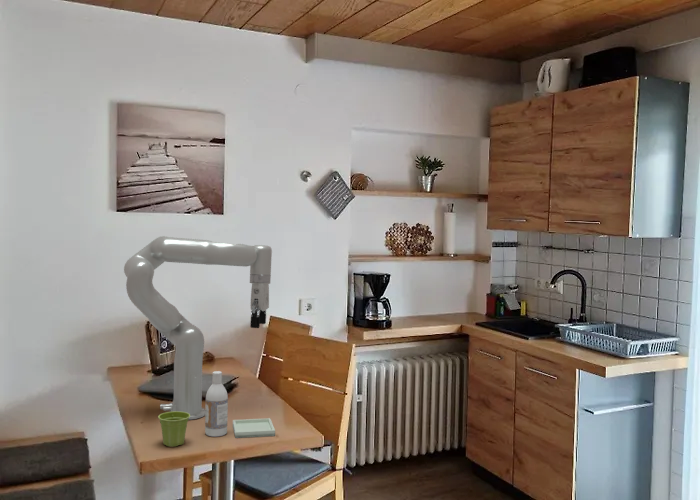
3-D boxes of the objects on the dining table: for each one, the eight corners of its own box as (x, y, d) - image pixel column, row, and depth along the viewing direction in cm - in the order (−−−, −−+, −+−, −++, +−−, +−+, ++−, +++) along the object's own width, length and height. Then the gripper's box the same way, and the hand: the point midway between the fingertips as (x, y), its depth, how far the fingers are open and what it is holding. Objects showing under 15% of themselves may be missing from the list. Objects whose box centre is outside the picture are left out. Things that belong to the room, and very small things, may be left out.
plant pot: (161, 438, 202) (161, 410, 201) (191, 438, 202) (192, 411, 202) (154, 449, 192) (155, 420, 192) (186, 449, 193) (187, 420, 193)
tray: (235, 438, 204) (235, 432, 203) (232, 425, 216) (232, 420, 216) (275, 435, 207) (275, 430, 206) (270, 423, 219) (270, 418, 219)
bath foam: (203, 431, 209) (204, 370, 208) (224, 429, 212) (225, 368, 211) (207, 438, 203) (208, 375, 202) (229, 435, 205) (230, 373, 204)
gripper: (264, 281, 226) (262, 330, 227) (275, 277, 243) (273, 322, 244) (243, 280, 227) (241, 328, 227) (255, 276, 244) (253, 321, 245)
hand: (258, 325), depth 236 cm, fingers open, 9 cm apart
